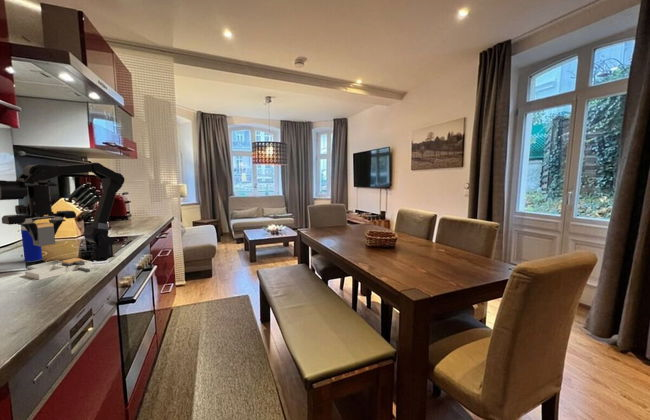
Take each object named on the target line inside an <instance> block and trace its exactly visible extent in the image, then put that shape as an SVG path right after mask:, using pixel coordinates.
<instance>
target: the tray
mask: <svg viewBox="0 0 650 420" xmlns="http://www.w3.org/2000/svg"><path fill="white" fill-rule="evenodd" d="M61 261H62V260H59V259H54V260H50V261H47V262H45V261H44V262H41V263H38V264H32V265H28V266H26V267H27V269H28V270H32V269H36V268H41V267H45V266H49V265H54V264H58V263H62V262H61Z"/></svg>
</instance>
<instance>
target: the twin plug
mask: <svg viewBox="0 0 650 420" xmlns="http://www.w3.org/2000/svg"><path fill="white" fill-rule="evenodd" d="M82 260H83V259H82V258H78V257H74V258H67V259H64V260H60V261H61V262H62V266H66V267H69V266H73V265H81V266H82V265H85V263H83V262H82ZM77 271H83V272H86V273H89V272H90V271H91V269H90V268H88V267H86V268H83V267H80V268H78V270H77Z"/></svg>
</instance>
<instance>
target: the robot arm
mask: <svg viewBox="0 0 650 420" xmlns="http://www.w3.org/2000/svg"><path fill="white" fill-rule="evenodd" d="M85 173H92V174H94V176H96V177H97V178H99V179H100V180H101V188H102V192H101V196H100V199H99V202H98V206H97V208H96V212H95V215H94V218H93V221H92V223H91V224H85V228H84V231H83V233H82V234H83V237H84V239H85V240H86V241H87V242H89V244H90V245H91V247H92V249H91V252H90V253H91V258H90V259H92V260H96V261H103V260H107V259H109V258H110V259H111V258H115V257H116V255H114V250H113V246H114V244H115V241H116V239H114V238H112V237H111V236H109V226H108V221H109V218H110V215H111V212H112V208H113V205H114V202H115V197H116V195H117V193H118V192H119V190H121V188H122V187H123V185H124V183H125V177H124V176H123V174H122V173H119V172H116V171H114V170H112V169H110V168H108V167H106V166H104V165H103V164H101V163H99V162H89V163H78V164H67V165H66V164H65V165H49V164H28V165H26V166H25V167H23V169H22V174H20V176H19V177H18V178H17V179H16V180H0V201H10V200H11V201H13V200H24V198H27V199H28V201H27V202H26V206H25V205H24V204H19V205H17V204H16V205H15V206H14V212H15V213H16V214H7V215H3V216H2V217H1V224H3V225H9V226H11V225H18V226H21V227H25V228H26V230H27V231H28V232H29V234H30V235H31V237H32V238H33V240H34V241H37V233H36V225H35V224H36V222H33V221H37V220H38V221H39V220H48V223H53V224H54V234H55V235H57V232H58V230H59V228H60V227H61V225H62V223H63V222H66V220H67V219H69V220H71V219H77V212H75V211H74V210H69V209H67V210H58V211H56V212H55V211H53V208H52V205H53V204H54V203H53V200H52V199H51V189H50V187H58V186H57V184H56V183H54V182H53V181H52V180H51V179H55V178H57V177H60V176H61V177H62V176H65V175H77V174H85ZM64 218H65V219H64Z"/></svg>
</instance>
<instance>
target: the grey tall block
mask: <svg viewBox="0 0 650 420" xmlns="http://www.w3.org/2000/svg"><path fill="white" fill-rule="evenodd" d="M35 225H36V233H37V241H34V240H33V245H35V246H41V247H45V246H50V245H56V238H55V236H56V234H54V224H53V223H50V222H39V223H35Z"/></svg>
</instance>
